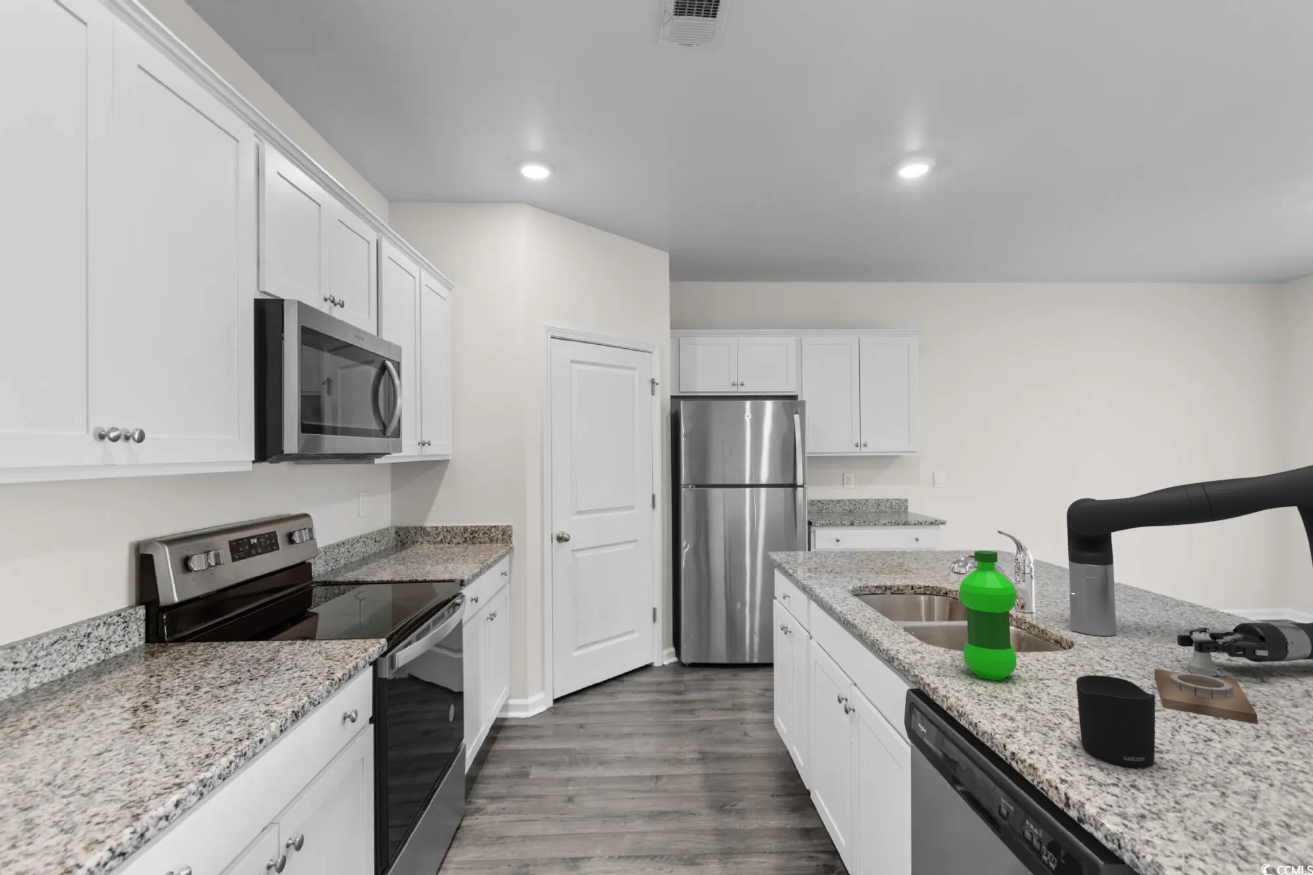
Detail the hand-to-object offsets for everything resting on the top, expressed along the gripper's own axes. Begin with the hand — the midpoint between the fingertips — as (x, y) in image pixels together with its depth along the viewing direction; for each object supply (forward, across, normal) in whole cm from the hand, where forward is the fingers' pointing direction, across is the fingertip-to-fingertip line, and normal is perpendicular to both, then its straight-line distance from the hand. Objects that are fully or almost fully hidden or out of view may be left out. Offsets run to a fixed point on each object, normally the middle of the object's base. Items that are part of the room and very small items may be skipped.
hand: (1187, 643), depth 122 cm
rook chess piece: (-3, 0, +6) cm, 7 cm away
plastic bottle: (+40, -2, +6) cm, 40 cm away
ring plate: (+8, +12, +6) cm, 16 cm away
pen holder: (+39, +31, +6) cm, 50 cm away
